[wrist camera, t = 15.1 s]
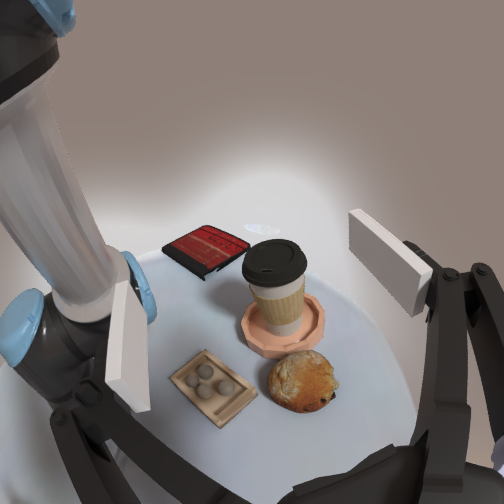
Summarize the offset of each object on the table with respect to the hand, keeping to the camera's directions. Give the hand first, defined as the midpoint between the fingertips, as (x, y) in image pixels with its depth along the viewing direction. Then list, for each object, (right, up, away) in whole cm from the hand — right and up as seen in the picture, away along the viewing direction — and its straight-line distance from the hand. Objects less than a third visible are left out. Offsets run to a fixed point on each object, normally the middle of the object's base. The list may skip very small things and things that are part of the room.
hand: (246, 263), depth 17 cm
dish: (+6, -13, +37) cm, 39 cm away
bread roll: (+8, -20, +26) cm, 34 cm away
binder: (-12, +1, +63) cm, 65 cm away
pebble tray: (-6, -21, +28) cm, 36 cm away
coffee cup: (+6, -12, +36) cm, 39 cm away
